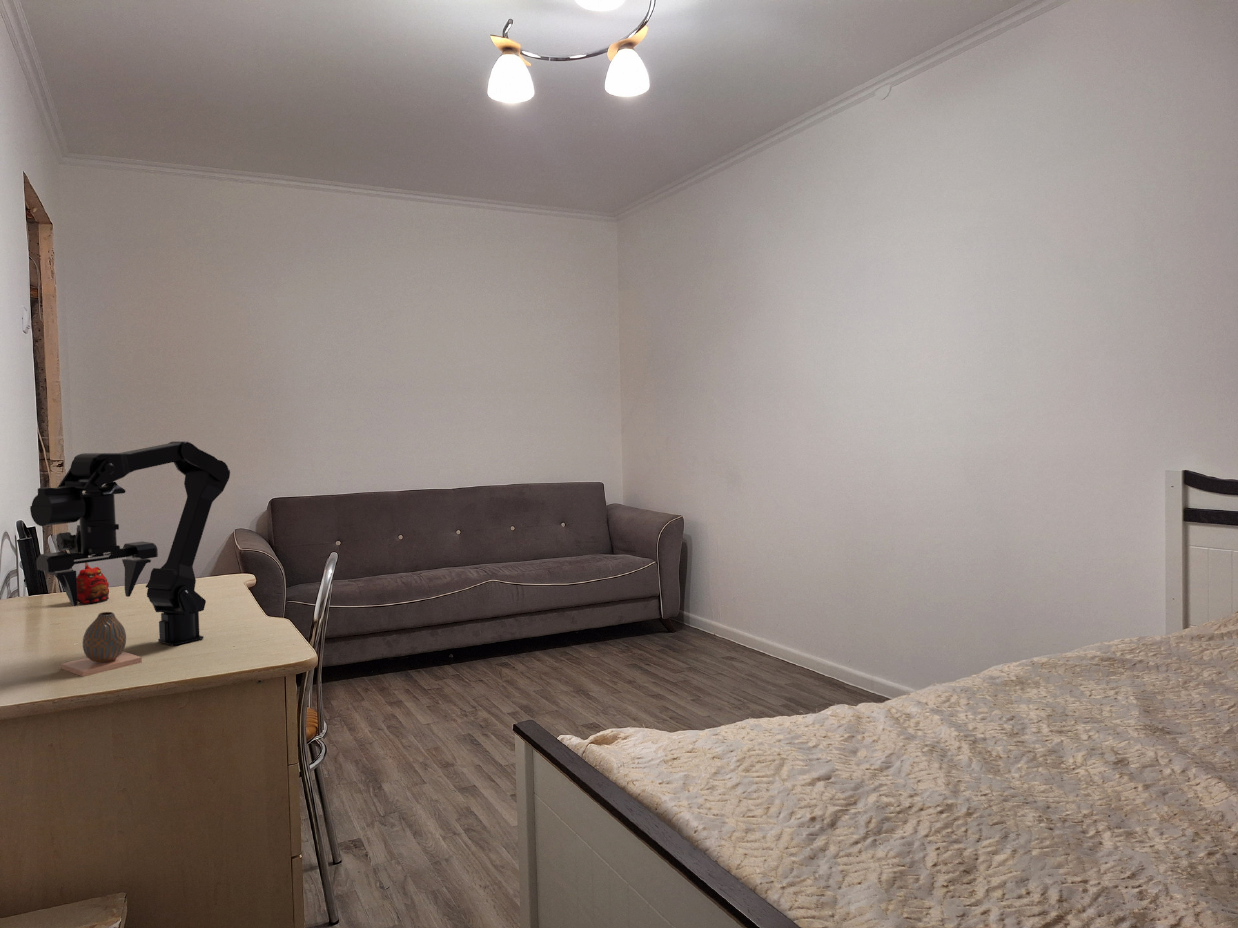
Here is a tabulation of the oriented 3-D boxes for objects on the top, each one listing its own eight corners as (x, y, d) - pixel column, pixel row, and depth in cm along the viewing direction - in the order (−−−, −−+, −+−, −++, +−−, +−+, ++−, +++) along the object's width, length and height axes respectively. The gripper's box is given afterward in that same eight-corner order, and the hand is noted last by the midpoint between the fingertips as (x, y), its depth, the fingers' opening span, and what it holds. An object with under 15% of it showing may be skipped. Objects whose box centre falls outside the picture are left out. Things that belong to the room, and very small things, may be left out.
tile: (118, 650, 157) (141, 657, 152) (119, 657, 157) (141, 665, 152) (61, 663, 149) (83, 671, 144) (61, 671, 149) (83, 679, 144)
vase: (133, 655, 153) (136, 610, 153) (109, 666, 146) (112, 619, 146) (98, 652, 153) (100, 607, 153) (72, 662, 147) (75, 615, 146)
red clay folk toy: (88, 605, 201) (85, 547, 201) (67, 604, 203) (65, 546, 203) (115, 599, 209) (113, 542, 208) (95, 598, 211) (93, 541, 210)
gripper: (130, 512, 162) (134, 587, 163) (22, 522, 147) (26, 605, 148) (157, 515, 156) (160, 593, 157) (47, 526, 141) (52, 613, 142)
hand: (101, 600), depth 151 cm, fingers open, 9 cm apart
